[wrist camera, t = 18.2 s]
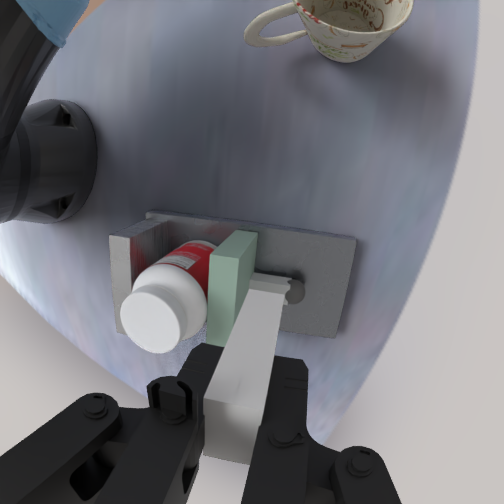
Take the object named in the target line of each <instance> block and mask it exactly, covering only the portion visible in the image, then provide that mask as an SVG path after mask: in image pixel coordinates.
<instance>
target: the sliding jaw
mask: <svg viewBox="0 0 504 504" xmlns="http://www.w3.org/2000/svg"><path fill="white" fill-rule="evenodd" d="M257 239H258V233H256V232H249V231H242V230H235V231H234V232H233V233H232V234H231V235H230V236H229V237H228V238H227V239H226V240H225V241H223V242H222V243H221V244H220V245H219V246H218V247H217V248H216V249H215V250H214V251H213V252H212V253H211V254H210V262H209V282H208V305H207V333H206V344H211V345H216V346H221V347H225V346H226V343H227V341H228V339H229V336H230V334H231V331H232V329H233V327H234V324H235V322H236V319H237V317H238V315H239V312H240V310H241V307H242V305H243V303H244V300H245V298H246V295H247V293H248V290H249V289H253V290H259V291H265V292H271V293H278V294H284V301H283V304H284V305H287V304H292V305H293V304H298V303H300V302H301V301H302V300H303V299H304V297H305V293H306V292H305V287H304V285H303V284H302V283H301V282H300V281H298V280H294V279H293V280H292V278H286V277H280V276H273V275H267V274H261V273H254V268H255V258H256V249H257Z"/></svg>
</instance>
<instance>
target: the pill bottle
mask: <svg viewBox="0 0 504 504" xmlns="http://www.w3.org/2000/svg"><path fill="white" fill-rule="evenodd" d="M216 248H217V246H215V245H213V244H211V243H209V242H206V241H201V240H194V241H189V242H187V243H184V244H183V245H181V246H179V247H178V248H176V249H175V250H173V251H172V252H170V253H169V254H168V255H166V256H165V257H163V258H162V259H160V260H159V261H157V262H156V263H154V264H153V265H151V266H150V267H148V268H147V269H146V270H144V271H143V272H142V273H141V274H140V275H139V276H138V278H137V279H136V281H135V283H134V286H133V289H132V293H131V294H130V295H129V296H128V297H127V298H126V299H125V300H124V301H123V303H122V306H121V310H120V317H121V322H122V325H123V327H124V330H125V331H126V333H127V335H128V336H129V337H130V339H131V340H132V341H133V342H134V343H135V344H137V345H138V346H139V347H141V348H143V349H144V350H147V351H149V352H152V353H166V352H169V351H171V350H173V349H174V348H175V347H176V346H177V345H178V343H179V342H180V341H183V340H186V339H189V338H191V337H192V336H194V335H195V334H197V333H198V332H199V331H200V329H201V328H202V327H203V325H204V324H205V322H206V321H207V305H208V282H209V262H210V254H211V253H212V252H213V251H214V250H215V249H216Z"/></svg>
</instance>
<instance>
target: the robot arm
mask: <svg viewBox="0 0 504 504" xmlns="http://www.w3.org/2000/svg"><path fill="white" fill-rule="evenodd" d="M88 3H89V0H0V224H1V223H4V222H7V221H10V220H19V221H27V222H35V223H43V224H48V223H54V222H57V221H60V220H64V219H66V218H69V217H71V216H72V215H74V214H75V213H76V212H77V211H78V210H79V209H80V208H81V207H82V205H83V204H84V202H85V201H86V199H87V197H88V195H89V193H90V191H91V188H92V185H93V181H94V177H95V172H96V165H97V146H96V139H95V134H94V131H93V127H92V125H91V122H90V120H89V118H88V117H87V115H86V114H85V112H84V111H83V110H82V109H81V108H80V107H79V106H78V105H76V104H74V103H72V102H70V101H65V100H56V99H49V100H44V101H41V102H38V103H35V104H32V105H29V106H27V104H28V102H29V100H30V98H31V96H32V94H33V92H34V90H35V88H36V86H37V85H38V83H39V81H40V79H41V77H42V76H43V74H44V72H45V70H46V69H47V67H48V65H49V64H50V62H51V61H52V59H53V57H54V56H55V54H56V53H57V51H58V50H59V48H63V47H64V45H65V44H66V38H67V37H68V35H69V34H70V32H71V31H72V29H73V27H74V26H75V24H76V23H77V21H78V20H79V19H80V17H81V16H82V14H83V13H84V11H85V10H86V8H87V6H88ZM283 301H284V294H278V293H271V292H265V291H259V290H253V289H249V290H248V293H247V295H246V298H245V300H244V303H243V305H242V307H241V310H240V312H239V315H238V317H237V319H236V322H235V324H234V327H233V329H232V331H231V334H230V336H229V339H228V341H227V343H226V346H225V347H221V346H216V345H211V344H206V343H201V344H199V345H198V346H197V347H195V348H194V349H192V350H191V352H190V354H189V356H188V357H187V360H186V361H185V363H184V364H183V366H182V369H181V370H180V372H179V373H178V375H177V377H175V376H165V377H160V378H157V379H155V380H153V381H151V382H150V383H149V384H148V385H147V393H148V400H149V406H150V407H148V408H139V409H137V408H124V407H119V406H118V403H117V401H115V400H114V399H113V398H112V397H111V396H109V395H106V394H104V393H90V394H86V395H84V396H82V397H80V398H79V399H78V400H76V401H75V402H74V403H72V404H71V405H70V406H68V407H67V408H66V409H64V410H63V411H62V412H60V413H59V414H57V415H56V416H55V417H53V418H52V419H51V420H49V421H48V422H47V423H45V424H44V425H43V426H41V427H40V428H38V429H37V430H36V431H34V432H33V433H32V434H30V435H29V436H28V437H26V438H25V439H24V440H22V441H21V442H19V443H18V444H17V445H15V446H14V447H13V448H11V449H10V450H8V451H7V452H6V453H4V454H3V455H2V456H0V504H186V502H187V500H188V497H189V494H190V492H191V489H192V486H193V483H194V480H195V478H196V475H197V472H198V470H199V458H200V455H201V453H202V450H203V455H205V456H210V457H214V458H218V459H223V460H227V461H233V462H237V463H242V464H247V465H250V467H249V471H248V476H247V480H246V484H245V488H244V493H243V497H242V501H241V504H402V503H401V501H400V499H399V496H398V494H397V491H396V489H395V487H394V484H393V482H392V480H391V477H390V475H389V472H388V470H387V468H386V466H385V463H384V461H383V459H382V458H381V457H380V455H379V454H378V453H376V452H375V451H374V450H372V449H370V448H366V447H363V446H352V447H349V448H346V449H344V450H343V451H341V452H338V451H335V450H332V449H330V448H327V447H325V446H322V445H320V444H319V443H317V442H316V441H315V440H313V438H312V437H311V436H310V435H309V433H308V431H307V426H306V418H307V397H308V392H307V391H308V368H307V366H306V365H305V363H304V361H303V360H301V359H294V358H287V357H281V356H275V355H274V353H275V348H276V342H277V337H278V331H279V325H280V319H281V313H282V307H283Z"/></svg>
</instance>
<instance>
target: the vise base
mask: <svg viewBox="0 0 504 504" xmlns="http://www.w3.org/2000/svg"><path fill="white" fill-rule="evenodd" d="M235 230H242V231H249V232H256V233H258V239H257V249H256V258H255V268H254V273H261V274H267V275H273V276H280V277H286V278H292V280H293V279H294V280H298V281H300V282H301V283H302V284H303V285H304V287H305V292H306V293H305V297H304V299H303V300H302V301H301V302H300V303H298V304H293V305H292V304H287V305H284V304H283V307H282V313H281V319H280V325H279V330H281V331H287V332H294V333H300V334H307V335H314V336H321V337H328V338H335V337H336V333H337V329H338V325H339V321H340V317H341V313H342V309H343V305H344V300H345V296H346V291H347V287H348V282H349V278H350V273H351V268H352V263H353V258H354V253H355V248H356V243H357V241H356V239H355V237H351V236H345V235H338V234H332V233H325V232H319V231H312V230H305V229H298V228H291V227H284V226H277V225H270V224H263V223H255V222H248V221H240V220H233V219H225V218H217V217H209V216H201V215H193V214H185V213H176V212H168V211H159V210H151V211H148V212H146V220H144V221H141V222H139V223H136V224H134V225H131V226H129V227H127V228H124V229H122V230H120V231H117V232H115V233H113V234H110V235H109V247H110V266H111V280H112V292H113V303H114V312H115V321H116V329H117V332H118V333H121V334H125V335H127V333H126V331H125V330H124V327H123V325H122V322H121V317H120V310H121V306H122V303H123V301H124V300H125V299H126V298H127V297H128V296H129V295H130V294H131V293H132V289H133V286H134V283H135V281H136V279H137V278H138V276H139V275H140V274H141V273H142V272H143V271H144V270H146V269H147V268H148V267H150V266H151V265H153V264H154V263H156V262H157V261H159V260H160V259H162V258H163V257H165V256H166V255H168V254H169V253H170V252H172V251H173V250H175V249H176V248H178V247H179V246H181V245H183V244H184V243H187V242H189V241H194V240H201V241H206V242H209V243H211V244H213V245H215V246H217V247H218V246H219V245H220V244H221V243H222V242H223V241H225V240H226V239H227V238H228V237H229V236H230V235H231V234H232V233H233V232H234V231H235Z"/></svg>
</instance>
